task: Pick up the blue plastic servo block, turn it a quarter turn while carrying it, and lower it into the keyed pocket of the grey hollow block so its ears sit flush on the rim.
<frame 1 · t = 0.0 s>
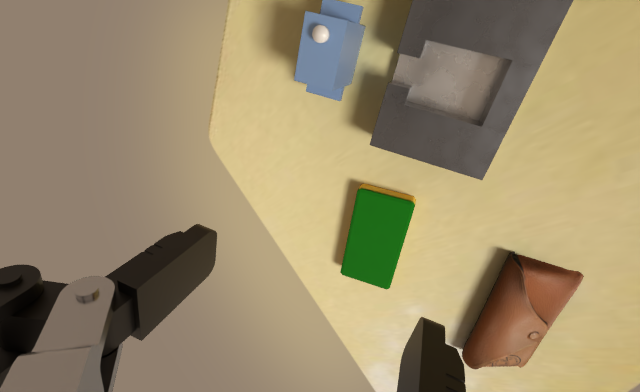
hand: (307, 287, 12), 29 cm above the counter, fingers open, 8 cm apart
grey hollow block: (453, 80, 33), on the counter
dish sponge: (377, 232, 44), on the counter
servo: (341, 51, 36), on the counter
sunglasses case: (514, 310, 42), on the counter
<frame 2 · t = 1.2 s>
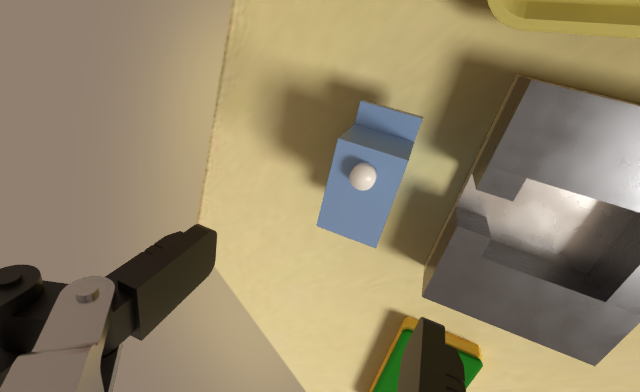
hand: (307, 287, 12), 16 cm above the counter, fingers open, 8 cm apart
grey hollow block: (548, 212, 23), on the counter
dish sponge: (417, 368, 34), on the counter
servo: (379, 158, 25), on the counter
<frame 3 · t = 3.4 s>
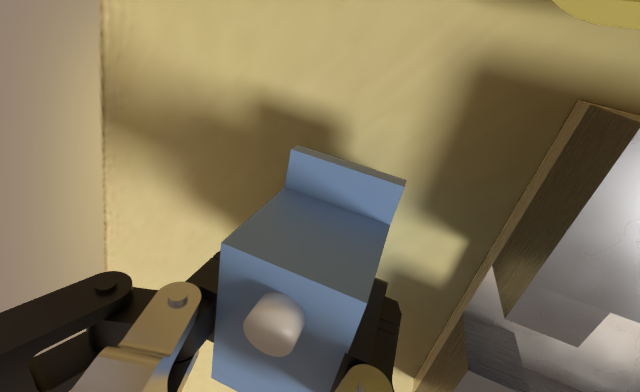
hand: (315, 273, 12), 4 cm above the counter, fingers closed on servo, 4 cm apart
grey hollow block: (621, 330, 13), on the counter
servo: (342, 225, 16), on the counter, touching gripper
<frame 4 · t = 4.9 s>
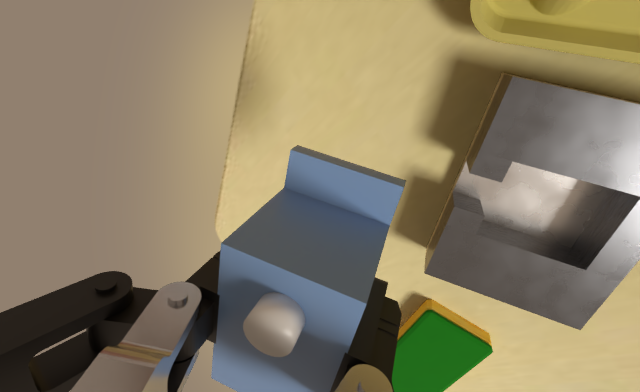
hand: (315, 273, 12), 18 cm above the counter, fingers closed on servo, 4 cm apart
grey hollow block: (535, 194, 25), on the counter
dish sponge: (422, 347, 36), on the counter
servo: (342, 226, 16), point 14 cm above the counter, touching gripper
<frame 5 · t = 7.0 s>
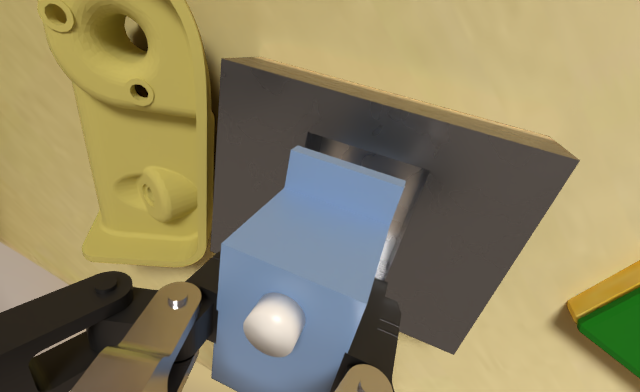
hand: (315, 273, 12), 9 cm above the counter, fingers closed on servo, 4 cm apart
plastic component: (171, 123, 24), on the counter
grey hollow block: (362, 189, 20), on the counter
servo: (342, 226, 16), point 5 cm above the counter, touching gripper
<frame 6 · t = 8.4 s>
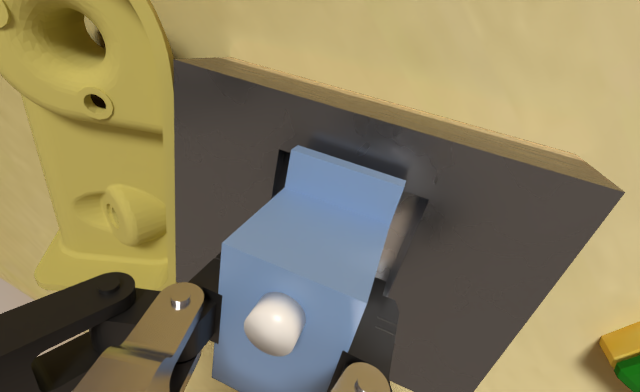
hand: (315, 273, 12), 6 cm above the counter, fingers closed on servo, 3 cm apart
plastic component: (141, 133, 21), on the counter
grey hollow block: (350, 211, 17), on the counter
servo: (342, 226, 16), point 2 cm above the counter, touching gripper
when the fingers open (6 cm above the counter, at t = 8.7 s): servo stays where it is, resting on grey hollow block.
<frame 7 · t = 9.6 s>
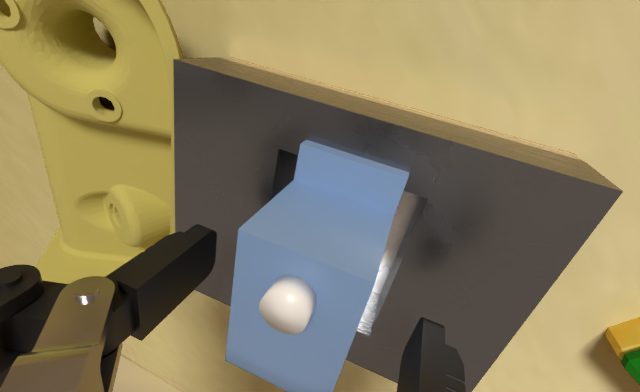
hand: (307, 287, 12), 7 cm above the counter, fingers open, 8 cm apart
plastic component: (146, 134, 21), on the counter
grey hollow block: (350, 210, 17), on the counter
servo: (347, 219, 16), point 1 cm above the counter, touching grey hollow block
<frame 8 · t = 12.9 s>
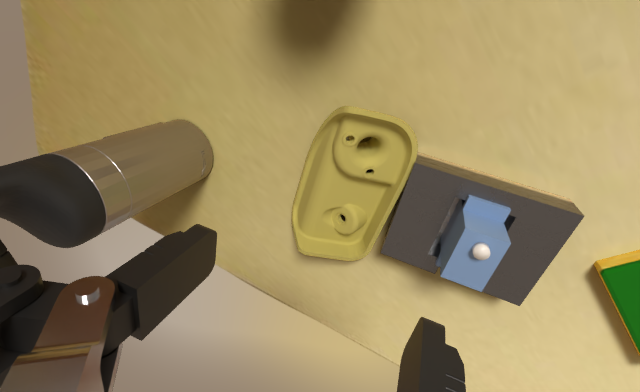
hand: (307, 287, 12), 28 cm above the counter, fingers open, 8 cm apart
plastic component: (355, 177, 40), on the counter
grey hollow block: (466, 219, 37), on the counter
servo: (467, 223, 37), point 1 cm above the counter, touching grey hollow block
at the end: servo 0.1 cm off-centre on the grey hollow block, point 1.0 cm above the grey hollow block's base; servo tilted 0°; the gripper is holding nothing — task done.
